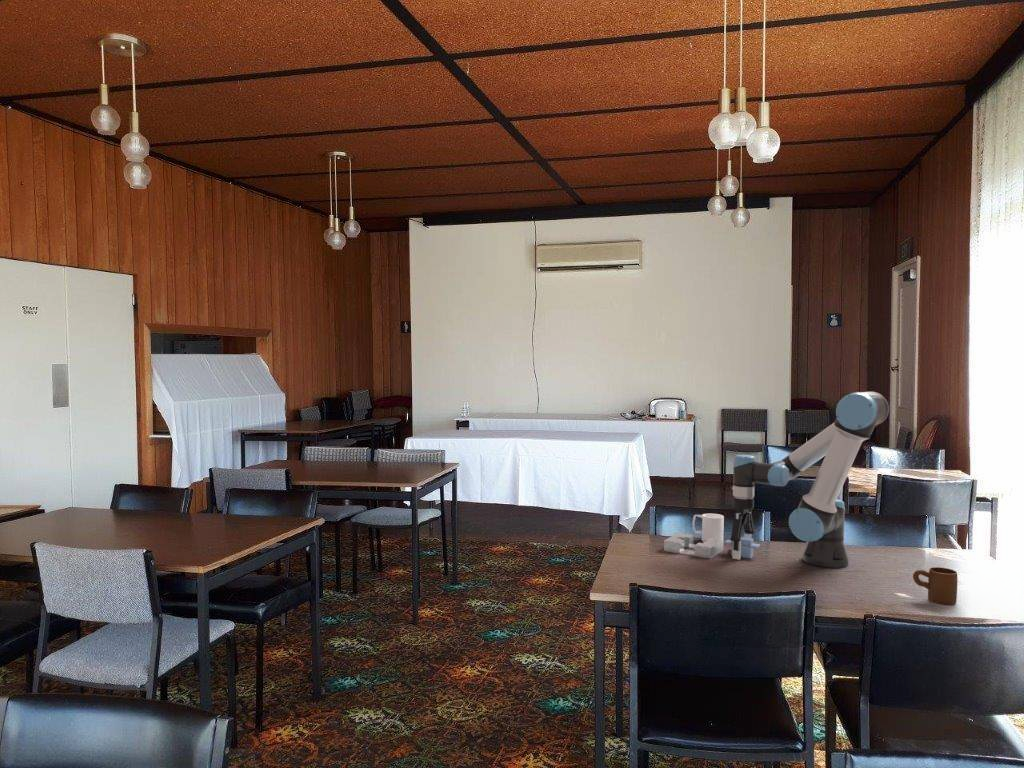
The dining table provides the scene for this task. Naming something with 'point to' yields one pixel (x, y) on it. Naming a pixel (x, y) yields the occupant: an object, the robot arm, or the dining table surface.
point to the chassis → (693, 546)
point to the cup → (710, 526)
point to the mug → (939, 584)
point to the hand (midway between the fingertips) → (741, 555)
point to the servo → (744, 547)
